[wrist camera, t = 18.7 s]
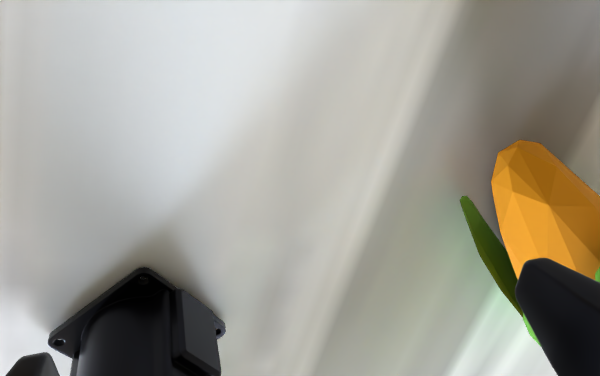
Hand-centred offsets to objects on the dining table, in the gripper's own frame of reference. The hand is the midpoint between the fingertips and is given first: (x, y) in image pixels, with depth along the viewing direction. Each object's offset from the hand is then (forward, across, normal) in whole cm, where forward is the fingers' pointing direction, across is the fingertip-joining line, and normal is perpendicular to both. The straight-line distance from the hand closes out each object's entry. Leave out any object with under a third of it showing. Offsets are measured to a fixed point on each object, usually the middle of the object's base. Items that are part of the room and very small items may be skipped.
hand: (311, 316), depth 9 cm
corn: (+13, -17, +11) cm, 24 cm away
